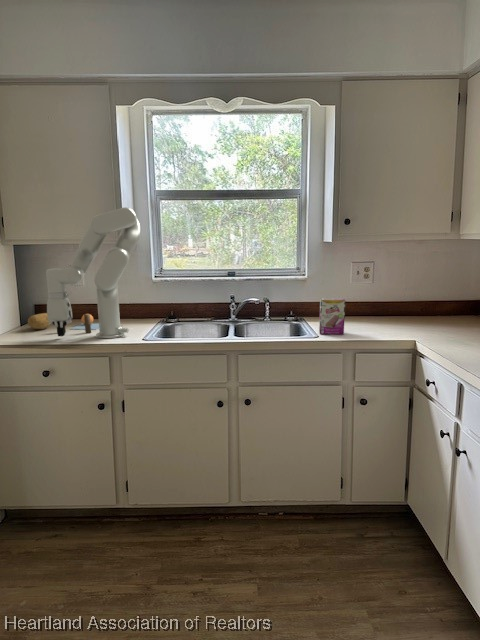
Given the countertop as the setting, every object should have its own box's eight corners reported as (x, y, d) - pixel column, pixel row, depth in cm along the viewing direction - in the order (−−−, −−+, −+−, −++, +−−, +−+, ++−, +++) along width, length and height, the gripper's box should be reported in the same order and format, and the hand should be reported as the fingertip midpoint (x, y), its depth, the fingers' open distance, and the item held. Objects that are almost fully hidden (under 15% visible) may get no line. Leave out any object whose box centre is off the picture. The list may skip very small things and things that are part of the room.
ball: (95, 313, 232) (90, 314, 226) (94, 324, 232) (90, 326, 226) (84, 312, 232) (79, 313, 226) (83, 323, 233) (79, 325, 227)
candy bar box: (319, 334, 201) (320, 299, 198) (318, 332, 206) (319, 298, 203) (344, 335, 200) (345, 299, 197) (342, 332, 205) (344, 298, 202)
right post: (92, 332, 212) (90, 314, 211) (89, 333, 210) (88, 315, 208) (87, 332, 213) (85, 314, 211) (84, 333, 210) (83, 315, 208)
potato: (58, 326, 228) (57, 311, 226) (41, 332, 214) (40, 316, 213) (41, 325, 229) (40, 310, 228) (24, 331, 216) (22, 315, 214)
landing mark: (107, 324, 232) (107, 323, 232) (95, 329, 218) (95, 329, 218) (82, 323, 233) (82, 323, 233) (69, 329, 220) (69, 328, 220)
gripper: (77, 294, 198) (80, 334, 202) (46, 294, 200) (50, 333, 204) (69, 297, 191) (72, 337, 195) (37, 297, 193) (41, 337, 196)
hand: (61, 335), depth 199 cm, fingers closed
